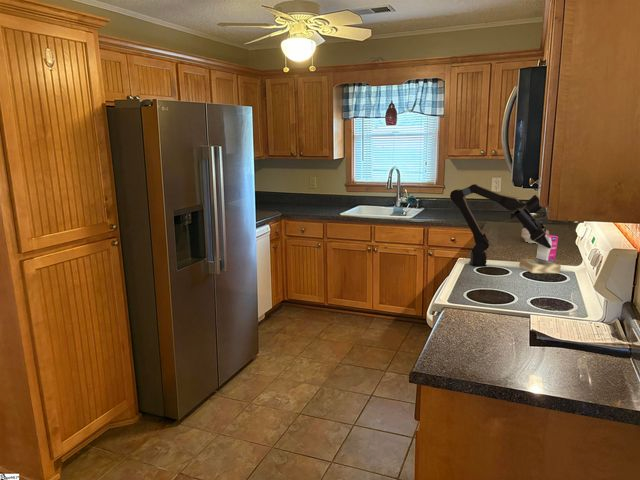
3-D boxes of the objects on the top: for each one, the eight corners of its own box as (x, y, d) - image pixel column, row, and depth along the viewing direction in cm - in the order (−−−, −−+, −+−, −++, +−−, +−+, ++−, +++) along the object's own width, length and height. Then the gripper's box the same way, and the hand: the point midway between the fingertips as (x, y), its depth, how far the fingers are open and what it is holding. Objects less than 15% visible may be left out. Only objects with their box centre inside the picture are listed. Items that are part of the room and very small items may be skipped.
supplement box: (546, 262, 216) (549, 236, 214) (535, 259, 222) (538, 234, 220) (555, 261, 219) (558, 236, 217) (544, 258, 224) (547, 233, 222)
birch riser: (531, 273, 219) (532, 265, 219) (519, 266, 232) (520, 258, 231) (560, 273, 220) (560, 265, 219) (546, 266, 233) (546, 258, 232)
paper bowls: (550, 245, 284) (551, 232, 283) (522, 244, 289) (523, 230, 287) (545, 241, 299) (547, 228, 297) (519, 239, 303) (520, 227, 301)
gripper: (541, 210, 209) (566, 238, 207) (542, 206, 226) (565, 232, 223) (519, 227, 214) (544, 254, 212) (522, 221, 231) (545, 246, 228)
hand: (550, 246), depth 218 cm, fingers closed on supplement box, 8 cm apart
